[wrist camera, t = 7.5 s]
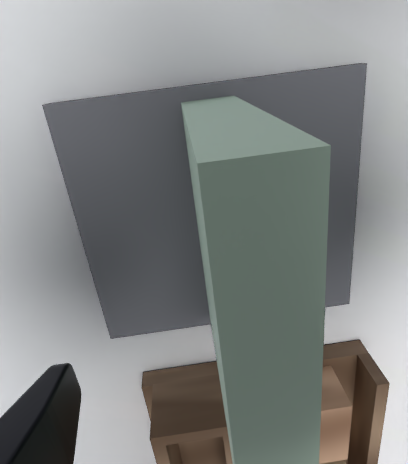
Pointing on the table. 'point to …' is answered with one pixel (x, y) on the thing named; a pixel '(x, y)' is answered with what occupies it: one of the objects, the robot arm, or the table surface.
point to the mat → (188, 187)
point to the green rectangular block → (263, 272)
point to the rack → (213, 415)
